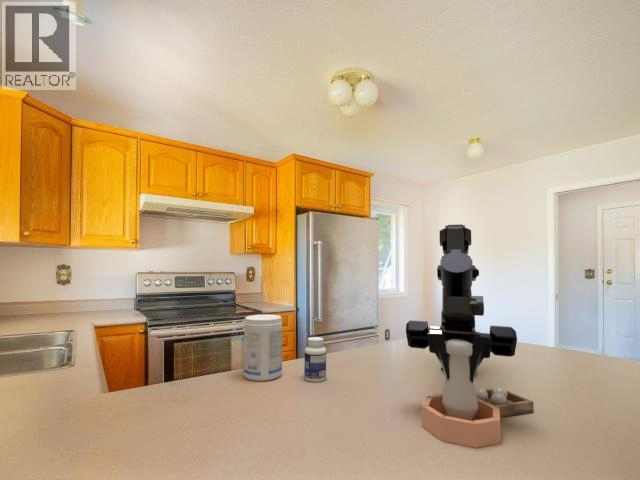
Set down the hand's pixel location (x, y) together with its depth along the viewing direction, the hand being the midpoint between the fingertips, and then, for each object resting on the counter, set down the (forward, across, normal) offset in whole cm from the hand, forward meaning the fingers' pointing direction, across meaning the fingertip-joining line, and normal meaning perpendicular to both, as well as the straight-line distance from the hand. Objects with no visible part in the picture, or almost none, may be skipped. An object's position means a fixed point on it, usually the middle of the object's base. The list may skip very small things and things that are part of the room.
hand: (459, 380), depth 57 cm
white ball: (-6, +8, +15) cm, 18 cm away
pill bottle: (-5, -33, +17) cm, 37 cm away
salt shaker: (+4, 0, +6) cm, 7 cm away
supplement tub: (-2, -46, +15) cm, 48 cm away
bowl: (+5, 0, +7) cm, 8 cm away
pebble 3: (-4, +7, +13) cm, 15 cm away
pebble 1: (-5, +4, +14) cm, 15 cm away
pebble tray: (-3, +7, +15) cm, 17 cm away
